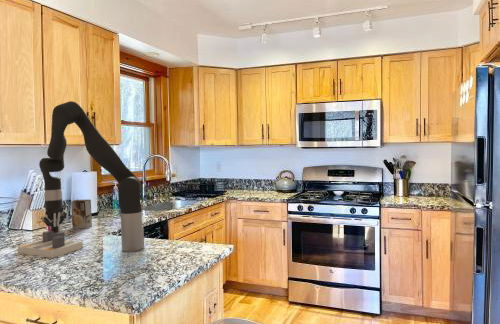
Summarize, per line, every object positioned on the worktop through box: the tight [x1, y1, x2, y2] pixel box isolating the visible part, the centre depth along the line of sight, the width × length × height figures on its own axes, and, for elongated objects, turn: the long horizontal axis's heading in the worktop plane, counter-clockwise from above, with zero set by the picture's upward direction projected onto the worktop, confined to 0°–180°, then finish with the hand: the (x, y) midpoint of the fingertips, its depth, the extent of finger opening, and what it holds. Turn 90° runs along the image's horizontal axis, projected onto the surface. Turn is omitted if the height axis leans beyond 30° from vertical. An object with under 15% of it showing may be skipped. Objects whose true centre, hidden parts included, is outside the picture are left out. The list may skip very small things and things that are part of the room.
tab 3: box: [52, 236, 65, 249], centre depth 163 cm, size 4×3×5 cm
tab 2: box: [53, 231, 66, 241], centre depth 171 cm, size 4×3×5 cm
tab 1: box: [42, 230, 54, 243], centre depth 174 cm, size 4×3×5 cm
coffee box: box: [70, 199, 93, 229], centre depth 213 cm, size 9×6×16 cm
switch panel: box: [17, 238, 84, 259], centre depth 167 cm, size 16×22×3 cm
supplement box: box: [47, 218, 64, 232], centre depth 192 cm, size 6×6×12 cm
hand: (55, 233), depth 177 cm, fingers closed
